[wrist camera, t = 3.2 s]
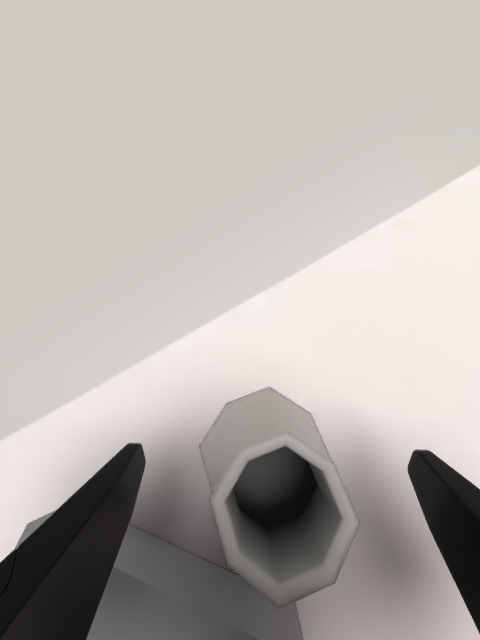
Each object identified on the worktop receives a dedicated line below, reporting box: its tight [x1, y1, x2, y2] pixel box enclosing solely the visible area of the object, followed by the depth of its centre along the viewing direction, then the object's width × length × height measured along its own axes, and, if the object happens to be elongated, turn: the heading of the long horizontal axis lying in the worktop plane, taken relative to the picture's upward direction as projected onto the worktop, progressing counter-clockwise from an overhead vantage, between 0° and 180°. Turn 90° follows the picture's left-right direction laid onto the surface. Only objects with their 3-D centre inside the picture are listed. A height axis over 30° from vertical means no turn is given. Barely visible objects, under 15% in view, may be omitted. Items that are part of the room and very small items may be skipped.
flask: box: [199, 387, 360, 609], centre depth 11 cm, size 7×7×10 cm
